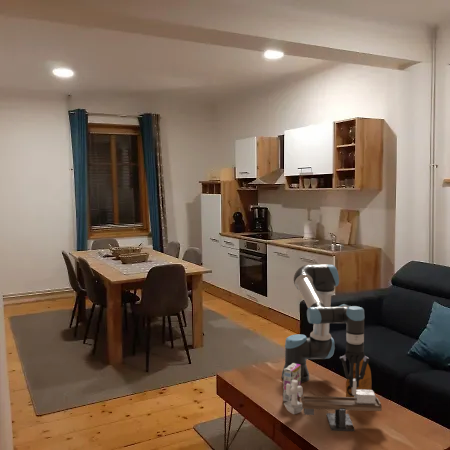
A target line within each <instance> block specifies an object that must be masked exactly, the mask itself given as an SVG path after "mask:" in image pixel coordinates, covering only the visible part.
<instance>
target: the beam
mask: <svg viewBox="0 0 450 450" xmlns="http://www.w3.org/2000/svg"><path fill="white" fill-rule="evenodd" d="M300 402H301V403H302V407H303V413H304V415H305V416H315V410H328V411H329V410H331V411H332V410H334V411H335V410H339V408H345V410H346V411H361V412H363V411H364V412H382V411H383V410H382V409H383V408H382V403H381V401H380V399H379V398H378V397H377V396H376V397H375V405H357V404H356V403H355V401H354V397H346V396H326V395H325V396H323V395H321V396H320V395H304V394H303V395H301V397H300Z"/></svg>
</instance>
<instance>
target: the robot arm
mask: <svg viewBox="0 0 450 450" xmlns="http://www.w3.org/2000/svg"><path fill="white" fill-rule="evenodd" d="M339 276H340V275H339V272H338V269H337V267H336V266H335V265H334V264H327V263H326V264H305V265H302V266H301V267H299V268H298V269H297V270H296V271H295V273H294V275H293V283H294V286H295V288H296V289H297V290H298V291H299V293H300V294H301V297H302V298H303V300H304V302H305V304H306V307H307V310H306V317H307V322H308V323H309V324H312V325H313V326H312V327H313V330H312V331H311V332H310V334H309V337H307V335H305V334H302V333H301V334H300V333H299V334H292V335H289V336H287V337H285V342H284V349H285V350H284V357H285V358H284V366H283V368H282V371H281V378H282V379H283V374H284V369H285V368H286V367H288V366H289V365H291V364H292V363H296V364H300V365H301V383H305V382H308V381H309V380H310V373H309V369H308V366H307V360H326V359H330V358H331V357H333V355H334V353H335V349H336V347H335V340H334V338H333V337H332V334H331V333H330V324H345V325H346V327H345V328H346V329H345V331H346V334H345V336H346V337H345V338H346V343H345V351H344V352H345V353H344V355H342V356H341V355H340V356H339V360H340V361H341V363H342V367H343V372H344V375H345V378H346V380H347V379H349V380H350V384H349V385H350V387H352V394H353V395H356V387H359V380H360V379H363V378H364V374H365V370H366V367H367V364H368V365H369V362H370V361H371V360H370V358H369V357H368V356H366V355H365V353H364V348H365V344H364V342H365V309H364V308H363V307H362V306H361V307H360V306H357V305H352V306H351V305H348V304H345V303H343V304H340V305H338V306H331V303H332V293H333V292H334V291H335V288H336V287H338V286H339V284H340V277H339ZM363 358H364V359H363ZM362 359H363V360H364V361H363V364H362V368H361V372H360V375H359V366H360V362H361V361H362ZM346 361H348V363H349V372H348V367H347V363H346ZM354 363H355V379H353V367H354Z"/></svg>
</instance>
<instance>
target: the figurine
mask: <svg viewBox="0 0 450 450" xmlns="http://www.w3.org/2000/svg"><path fill="white" fill-rule="evenodd" d="M291 386H292V387H291V388H290V384H288V383H287V384H286V394H287V395H292V397H291V401H288V402H283V406H285V409H286V410H287V412H289V413H291V414H293V415H297V414H300V413H302V411H304V409H303V407H302V403H301V401H299V400H298V398H301V395H303V396H304V394H303V393H304V389H303V386H302V385H301V386H298V381H297V380H292V381H291ZM297 394H298V395H299V397H298V398H297Z"/></svg>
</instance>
